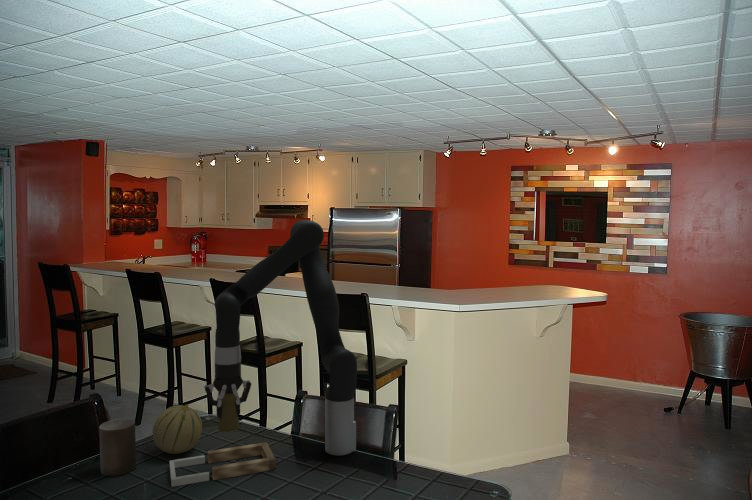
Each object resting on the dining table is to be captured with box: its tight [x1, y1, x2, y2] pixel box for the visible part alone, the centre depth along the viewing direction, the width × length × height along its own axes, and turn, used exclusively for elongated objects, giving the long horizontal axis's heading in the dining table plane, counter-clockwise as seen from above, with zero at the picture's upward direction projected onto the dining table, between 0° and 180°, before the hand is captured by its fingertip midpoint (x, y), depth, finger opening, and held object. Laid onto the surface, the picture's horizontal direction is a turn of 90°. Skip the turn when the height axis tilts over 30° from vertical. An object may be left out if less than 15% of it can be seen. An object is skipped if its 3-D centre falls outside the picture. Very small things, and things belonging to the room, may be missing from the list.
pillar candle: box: [98, 418, 137, 477], centre depth 161 cm, size 10×10×15 cm
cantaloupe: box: [152, 403, 203, 455], centre depth 173 cm, size 15×15×15 cm
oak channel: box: [207, 442, 277, 481], centre depth 165 cm, size 18×14×3 cm
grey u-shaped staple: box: [168, 455, 210, 488], centre depth 159 cm, size 10×13×2 cm
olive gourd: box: [217, 393, 240, 433], centre depth 162 cm, size 6×6×11 cm
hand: (228, 416), depth 162 cm, fingers closed on olive gourd, 4 cm apart
